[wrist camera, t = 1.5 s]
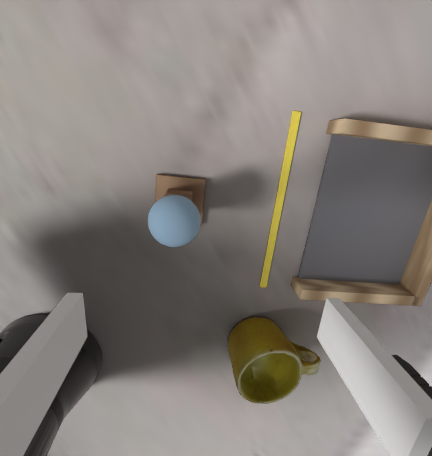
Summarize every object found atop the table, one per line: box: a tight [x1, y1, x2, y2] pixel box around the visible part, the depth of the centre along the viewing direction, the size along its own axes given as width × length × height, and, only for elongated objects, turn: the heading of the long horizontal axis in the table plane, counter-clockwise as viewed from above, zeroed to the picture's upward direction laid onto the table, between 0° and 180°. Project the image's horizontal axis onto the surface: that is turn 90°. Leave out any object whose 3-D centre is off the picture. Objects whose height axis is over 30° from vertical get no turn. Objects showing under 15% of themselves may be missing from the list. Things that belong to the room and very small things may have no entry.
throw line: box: [260, 111, 301, 288], centre depth 34 cm, size 1×24×1 cm, turn 174°
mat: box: [298, 134, 432, 285], centre depth 36 cm, size 16×20×1 cm
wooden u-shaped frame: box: [291, 119, 432, 306], centre depth 34 cm, size 18×23×4 cm
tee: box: [155, 174, 206, 226], centre depth 30 cm, size 6×6×6 cm
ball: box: [148, 195, 201, 247], centre depth 25 cm, size 5×5×5 cm
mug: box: [228, 317, 321, 404], centre depth 38 cm, size 12×10×10 cm
